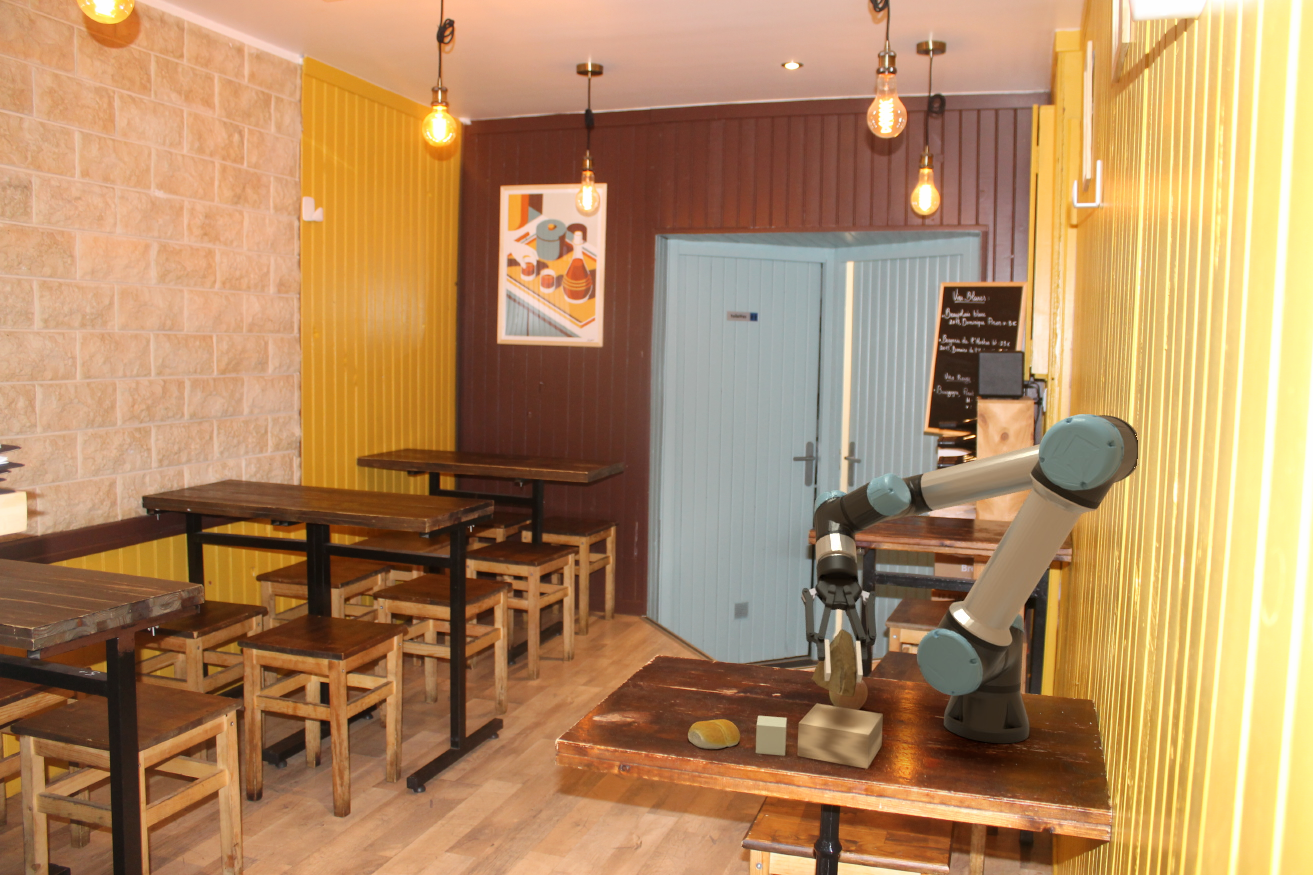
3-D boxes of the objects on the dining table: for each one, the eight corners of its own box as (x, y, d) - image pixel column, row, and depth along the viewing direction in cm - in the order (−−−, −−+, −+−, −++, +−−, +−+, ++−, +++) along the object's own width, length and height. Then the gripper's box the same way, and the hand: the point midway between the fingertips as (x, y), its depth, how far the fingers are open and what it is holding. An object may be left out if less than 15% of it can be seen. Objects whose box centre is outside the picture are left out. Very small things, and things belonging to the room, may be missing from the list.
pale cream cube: (785, 745, 171) (786, 717, 171) (784, 755, 166) (785, 727, 166) (757, 743, 172) (758, 715, 172) (755, 753, 167) (756, 724, 167)
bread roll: (748, 744, 171) (749, 722, 171) (707, 753, 166) (708, 730, 166) (720, 730, 178) (720, 708, 178) (680, 738, 173) (680, 716, 173)
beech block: (881, 746, 172) (882, 713, 172) (867, 770, 161) (868, 734, 161) (815, 735, 177) (816, 703, 177) (797, 757, 166) (798, 722, 166)
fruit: (821, 710, 191) (823, 670, 190) (836, 701, 197) (838, 662, 196) (858, 718, 186) (860, 677, 186) (872, 708, 193) (874, 669, 192)
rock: (871, 688, 162) (874, 664, 172) (841, 646, 162) (845, 625, 172) (818, 718, 166) (824, 693, 175) (789, 677, 166) (796, 655, 175)
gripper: (881, 578, 183) (892, 691, 167) (787, 573, 184) (789, 685, 168) (887, 554, 177) (899, 669, 161) (790, 550, 178) (793, 663, 163)
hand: (843, 677), depth 165 cm, fingers closed on rock, 5 cm apart
